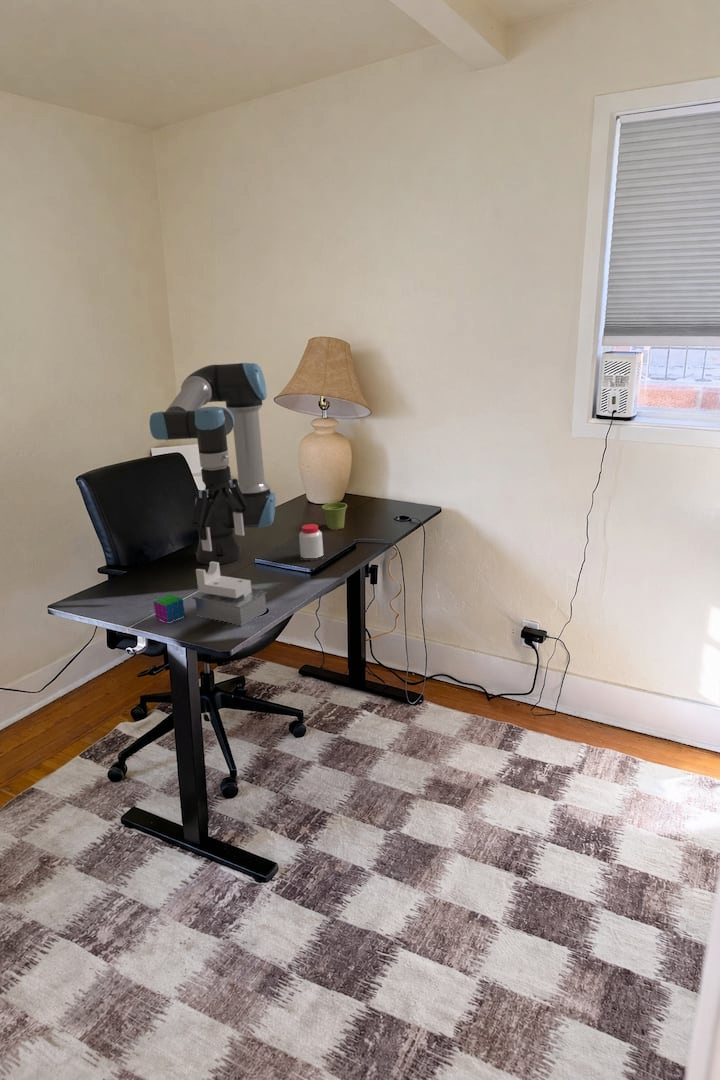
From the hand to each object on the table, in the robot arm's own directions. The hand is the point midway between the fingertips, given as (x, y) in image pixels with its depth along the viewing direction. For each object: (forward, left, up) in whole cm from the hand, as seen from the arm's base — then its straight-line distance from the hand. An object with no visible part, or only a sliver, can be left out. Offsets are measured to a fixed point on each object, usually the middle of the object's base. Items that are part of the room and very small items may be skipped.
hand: (224, 542), depth 200 cm
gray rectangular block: (0, 0, -21) cm, 21 cm away
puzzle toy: (-14, -10, -22) cm, 28 cm away
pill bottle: (-5, +48, -22) cm, 53 cm away
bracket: (-1, 0, -15) cm, 15 cm away
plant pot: (-15, +79, -22) cm, 83 cm away
